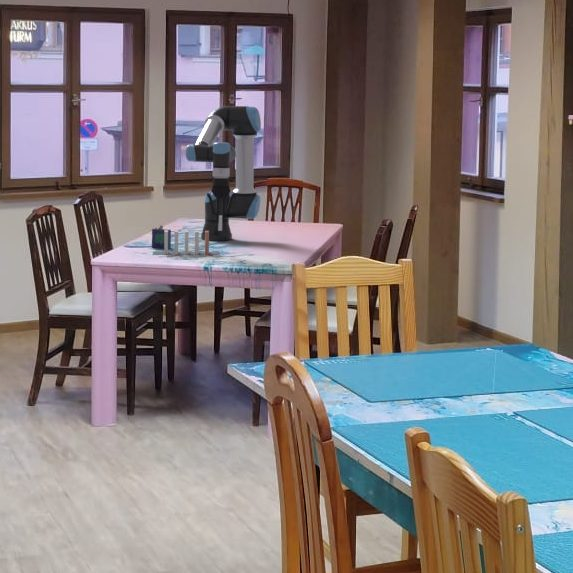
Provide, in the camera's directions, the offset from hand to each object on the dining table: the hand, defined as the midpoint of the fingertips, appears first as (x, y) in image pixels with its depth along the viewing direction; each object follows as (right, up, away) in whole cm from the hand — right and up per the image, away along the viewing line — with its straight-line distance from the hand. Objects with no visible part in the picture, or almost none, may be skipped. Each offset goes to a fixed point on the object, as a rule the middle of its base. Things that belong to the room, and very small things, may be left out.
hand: (220, 230), depth 531 cm
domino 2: (-20, -10, 0) cm, 22 cm away
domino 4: (-11, -10, +1) cm, 15 cm away
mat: (-15, -11, +1) cm, 18 cm away
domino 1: (-24, -10, 0) cm, 26 cm away
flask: (-28, -8, +16) cm, 33 cm away
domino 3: (-15, -10, +1) cm, 18 cm away
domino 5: (-6, -10, +2) cm, 12 cm away
